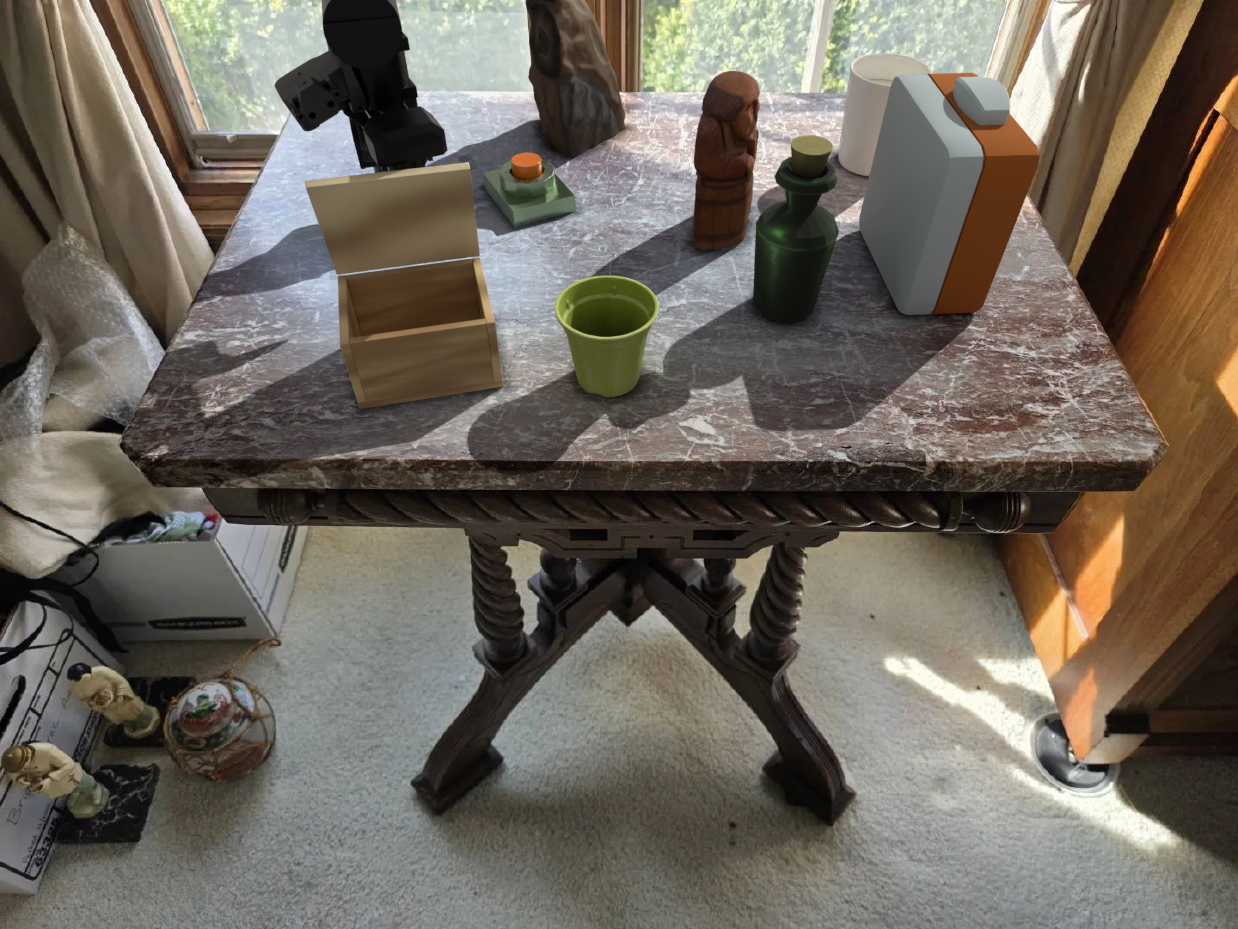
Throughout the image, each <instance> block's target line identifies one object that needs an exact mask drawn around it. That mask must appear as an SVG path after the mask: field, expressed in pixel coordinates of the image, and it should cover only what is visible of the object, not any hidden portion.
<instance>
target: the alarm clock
mask: <svg viewBox="0 0 1238 929" xmlns="http://www.w3.org/2000/svg"><path fill="white" fill-rule="evenodd" d="M1040 157H1041V155H1040V152H1039V148H1038V145H1037V143H1036V142H1034V141H1033V139H1032V138H1031V137H1030V136H1029V134H1028V133H1027V132H1026V131H1025V130H1024V129H1023V127H1022V126H1021V125H1020V124H1019V123H1018V121H1017V120H1016V119H1015V118H1014V117H1013V116H1012V114H1011V100H1010V95H1009V93H1008V90H1007V89H1006V87H1005V86H1004V84H1002V83H1001V82H1000V81H998V80H997V79H995V78H992V77H989V76H979V75H978V74H976V73H974V72H950V73H948V72H946V73H944V72H943V73H941V72H939V73H932V74H901V75H898V76H896V77H894V79H893V82H892V84H891V88H890V92H889V96H888V100H887V104H886V108H885V112H884V116H883V120H882V125H881V129H880V133H879V138H878V142H877V146H876V150H875V154H874V159H873V163H872V167H871V171H870V175H869V176H868V180H867V183H866V187H865V192H864V195H863V199H862V203H861V204H862V205H861V209H860V212H859V218H858V225H859V231H860V233H861V235H862V238H863V240H864V242H865V245H866V246H867V248H868V250H869V252H870V254H871V257H872V258H873V261H874V263H875V265H876V267H877V269H878V272H879V273H880V276H881V277H882V279H883V282H884V283H885V286H886V288H887V290H888V292H889V294H890V296H891V299H892V301H893V302H894V305H895V307H896V309H897V311H898V312H899V313H901V314H903V315H905V316H918V315H946V314H948V315H949V314H970V313H973V314H974V313H976V312H978V311H980V310H981V309H982V308H983V307H984V305H985V302H986V299H987V297H988V294H989V292H990V289H991V287H992V285H993V282H994V279H995V277H996V275H997V272H998V269H999V267H1000V264H1001V262H1002V259H1003V256H1004V254H1005V252H1006V250H1007V247H1008V244H1009V241H1010V240H1011V237H1012V234H1013V231H1014V228H1015V226H1016V223H1017V221H1018V218H1019V216H1020V213H1021V211H1022V208H1023V206H1024V203H1025V202H1026V201H1025V200H1026V198H1027V196H1028V194H1029V191H1030V188H1031V185H1032V183H1033V180H1034V178H1035V175H1036V173H1037V170H1038V168H1039V164H1040Z"/></svg>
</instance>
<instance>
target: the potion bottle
mask: <svg viewBox="0 0 1238 929" xmlns="http://www.w3.org/2000/svg"><path fill="white" fill-rule="evenodd" d="M833 148H834V145H833V143H832V141H830V140H828V138H825V137H822V136H818V135H814V134H803V135H799V136H796V137H795V138H793V139H792V140H791V142H790V155H791V156H788V157H787V158H785V159H784V160H782V161H781V163H780V164H779V166H778V169H777V171H776V173H775V174H774V180H775V183H776V184H777V185H778V186H779V187H780V188H781V189H783V190H784V192H785V193H784V194H785V199H784V200H781V201H777V202H776V201H775V202H773V203H772V204H770V205H769V206H766V208H765V209H764V210H763V211H762V212H761V213H760V214H759V217H758V219H757V220H756V223H755V236H754V237H755V238H754V239H755V240H754V241H755V242H754V263H753V264H754V266H753V290H752V293H753V294H752V300H753V302H752V303H753V307H754V308H755V309H756V310H757V311H758V312H759V314H760V315H761V316H763V317H764V318H767V319H768V320H770V321H773V322H777V323H782V324H784V323H785V324H786V323H790V324H791V323H797V322H800V321H803V320H805V319H807V318H808V317H809V316H811V315H812V314H813V312H814V309H815V308H816V304H817V302H818V299H819V296H820V292H821V289H822V286H823V283H824V279H825V276H826V273H827V270H828V268H829V264H830V262H831V258H832V254H833V253H834V252H833V251H834V248H835V246H836V242H837V239H838V236H839V232H840V230H839V228H838V225H837V222H836V219H835V216H834V214H833V213H832V212H831V211H830V210H829V209H827V207H825V206H822V205H820V204H819V201H820V199H821V197H822V195H824V194H827V193H830V192H831V191H833V190H834V189H836V187H837V184H838V175H837V171H836V167H835V165H834V164H833V163H832V162H830V161H829V158H830V155H831V153H832V151H833Z"/></svg>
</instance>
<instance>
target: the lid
mask: <svg viewBox="0 0 1238 929" xmlns="http://www.w3.org/2000/svg"><path fill="white" fill-rule="evenodd" d="M472 180H473V179H472V172H471V165H470V162H469V161H468V162H457V163H450V164H440V165H431V166H425V167H422V168H413V169H404V170H396V171H387V172H378V173H374V172H371V173H362V174H361V173H360V174H353V175H351V174H350V175H344V176H334V177H327V178H317V179H307V180H305V181H304V185H305V189H306V190H305V191H306V193H307V195H308V198H309V201H310V203H311V204H310V205H311V207H312V209H313V212H314V215H315V218H316V220H317V223H318V225H319V229H320V232H321V235H322V237H323V240H324V243H325V246H326V249H327V251H328V254H329V257H330V260H331V263H332V265H333V268H334V271H335V274H336V275H337V276H340V275H348V274H355V273H363V272H370V271H378V270H386V269H393V268H401V267H408V266H416V265H423V264H428V263H429V264H431V263H439V262H446V261H454V260H461V259H469V258H477V257H481V252H480V244H479V236H478V235H479V234H478V227H477V217H476V208H475V199H474V198H475V197H474V190H473V181H472Z"/></svg>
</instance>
